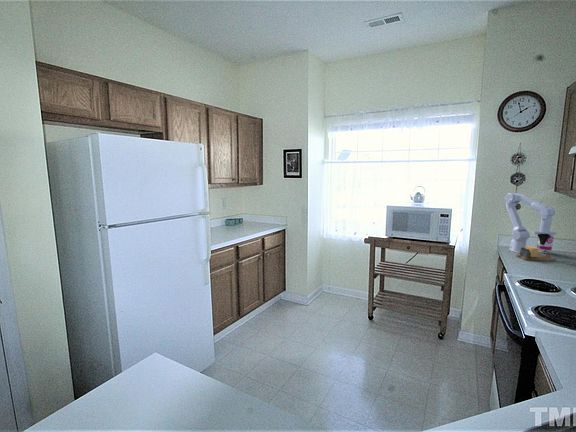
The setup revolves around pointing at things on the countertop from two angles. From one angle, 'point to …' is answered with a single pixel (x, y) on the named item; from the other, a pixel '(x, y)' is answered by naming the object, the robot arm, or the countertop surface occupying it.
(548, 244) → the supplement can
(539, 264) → the countertop surface
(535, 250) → the sleeve
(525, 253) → the rail stand
